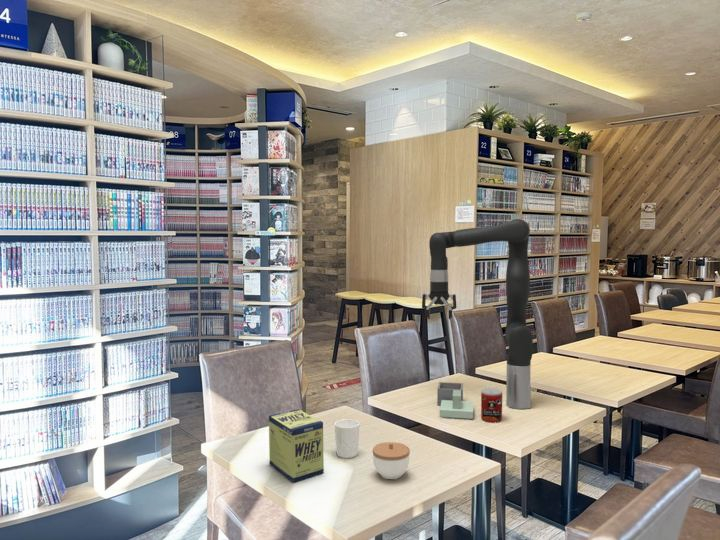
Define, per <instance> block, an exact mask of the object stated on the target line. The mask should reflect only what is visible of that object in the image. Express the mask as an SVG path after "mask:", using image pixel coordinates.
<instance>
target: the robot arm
mask: <svg viewBox="0 0 720 540" xmlns="http://www.w3.org/2000/svg"><path fill="white" fill-rule="evenodd" d="M530 232H531V229H530V225H529V224H528V223H527V222H526V221H525V220H524V219H521V218H520V219H519V218H514V219H512V220H510V221H506V222H504V223H500V224H497V225H491V226H483V227H482V226H481V227H470V228H462V229H458V230H454V231H443V232H435V233H433V234H432V235H431V236H430V238H429V241H428V242H429V244H428V245H429V253H430V272H429V273H430V274H429V275H430V276H429V282H430V283H429V287H430V288H429V289H430V290H429V294H428V293H423V294H422V299H421V308H422V309H423V310H425V311H426V318H427V319H428V320H429V319H430V318H431V309H430V308H431V307H432V306H433V305H436V306H437V305H441V306H442V305H445V306H446V307H447V309H448V320H451V319H452V318H453V310H455V309H457V295H456V293H452V294H450V293H449V269H448V268H449V266H448V263H449V262H448V261H449V260H448V256H447V249H451V248H456V247H457V248H460V247H469V246H470V247H471V246H476V245H482V244H487V243H493V242H494V243H495V242H507V245H508V247H507V248H508V257H507V265H506V272H505V292H506V293H505V294H506V309H507V313H506V325H505V326H506V327H505V337H506V341H507V342H508V354H507V356H506V385H505V386H506V393H505V394H506V398H505V399H506V400H505V401H506V402H505V403H506V404H505V405H506V406H507V407H509V408H511V409H517V410H526V409H532V408H531V407H532V406H531V405H532V404H531V403H532V402H531V401H532V398H531V397H532V394H531V393H532V384H531V364H532V363H531V362H532V358H533V344H534V343H533V341H534V339H533V333H532V330H531V329H529V328H528V324H527V316H526V313H527V306H528V302H529V298H530V292H531V291H530V290H531V276H530V274H531V273H530V272H531V271H530V264H529V255H528V249H529V239H530V234H531V233H530ZM428 298H429V299H430V302H429V304H428V305H426V301H427V300H428ZM449 299H451V300H452V305H451V304H450V302H449V301H448V300H449Z"/></svg>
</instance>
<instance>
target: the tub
mask: <svg viewBox="0 0 720 540" xmlns="http://www.w3.org/2000/svg"><path fill="white" fill-rule="evenodd" d="M453 390H461V401H464V383H463V382H444V381H443V382H442V381H440V382H438V384H437V392H436V393H437V395H436V396H437V398H436V399H437V402H436V403H437V404H436V405H437V407H440V406H441V401H442V400H452V401H453Z"/></svg>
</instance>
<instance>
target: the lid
mask: <svg viewBox="0 0 720 540" xmlns="http://www.w3.org/2000/svg"><path fill="white" fill-rule="evenodd" d="M439 407H440V408H439V418H440V417H453V418H469V419H472V420H473V419H474V401H471V400H470V401H469V400H466V401H465V400H463V401H461V390H453V401H452V400H442V401H441V406H439Z"/></svg>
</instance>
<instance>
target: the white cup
mask: <svg viewBox="0 0 720 540" xmlns="http://www.w3.org/2000/svg"><path fill="white" fill-rule="evenodd" d="M334 437H335V439H334V440H335V447H336V449H335V450H336V455H337V456H338V457H339V458H343V459H352V458H354V457H357V456H358V455H359V454H358V453H359V443H360V442H359V441H360V439H359V438H360V421H358V420H357V419H351V418H345V419H339V420H337V421H335V422H334Z"/></svg>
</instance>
